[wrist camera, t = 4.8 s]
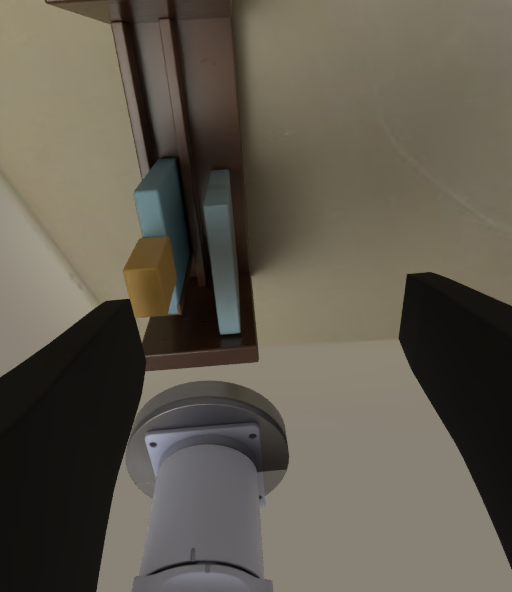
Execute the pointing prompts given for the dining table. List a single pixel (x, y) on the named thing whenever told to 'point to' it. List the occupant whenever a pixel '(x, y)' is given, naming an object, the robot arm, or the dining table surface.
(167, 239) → the pane
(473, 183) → the dining table surface
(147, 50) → the brown wooden rack
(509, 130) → the dining table surface
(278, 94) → the dining table surface
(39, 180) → the dining table surface
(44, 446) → the robot arm
